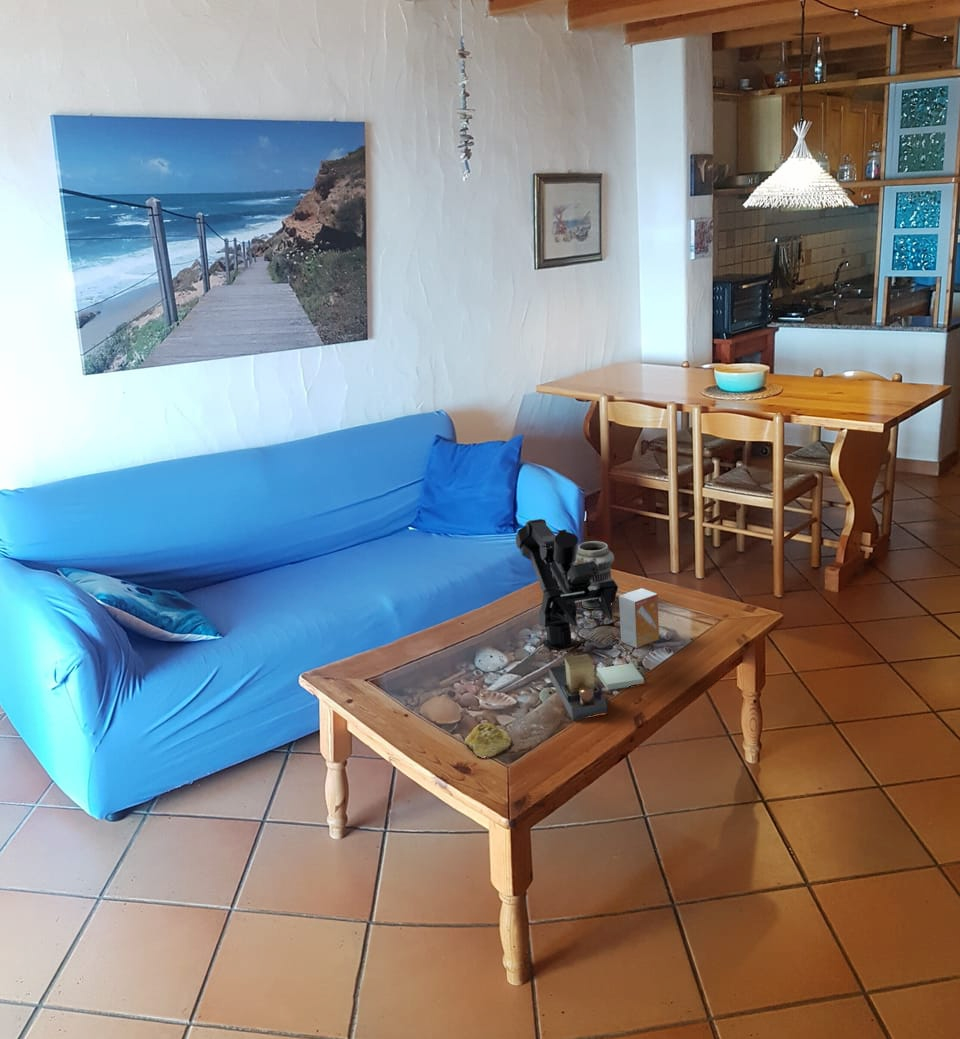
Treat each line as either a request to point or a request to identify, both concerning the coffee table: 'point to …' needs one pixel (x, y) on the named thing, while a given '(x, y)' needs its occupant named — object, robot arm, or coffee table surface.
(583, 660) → the lever cap
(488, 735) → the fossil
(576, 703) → the plane body
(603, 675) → the sage mat
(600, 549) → the apothecary jar
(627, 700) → the coffee table surface
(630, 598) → the small box
